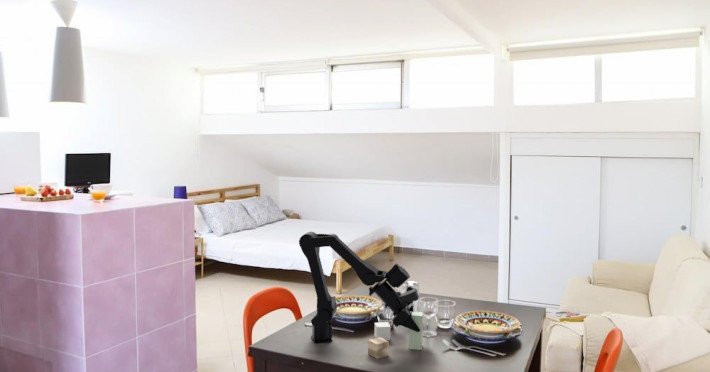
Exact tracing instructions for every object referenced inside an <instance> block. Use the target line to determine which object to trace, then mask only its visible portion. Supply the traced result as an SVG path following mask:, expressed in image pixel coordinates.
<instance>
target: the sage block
mask: <svg viewBox="0 0 710 372" xmlns="http://www.w3.org/2000/svg"><path fill="white" fill-rule="evenodd" d="M410 312H412V318H413V320H414V321H415V323H416V324H417V326H418V327H419V329H420V331H419V332H416V331H414V330H411V329H409V328H408V349H409V350H419V351H422V349H423V331H424V330H423V329H424V327H423V326H424V311H417V312H413V311H410Z"/></svg>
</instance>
